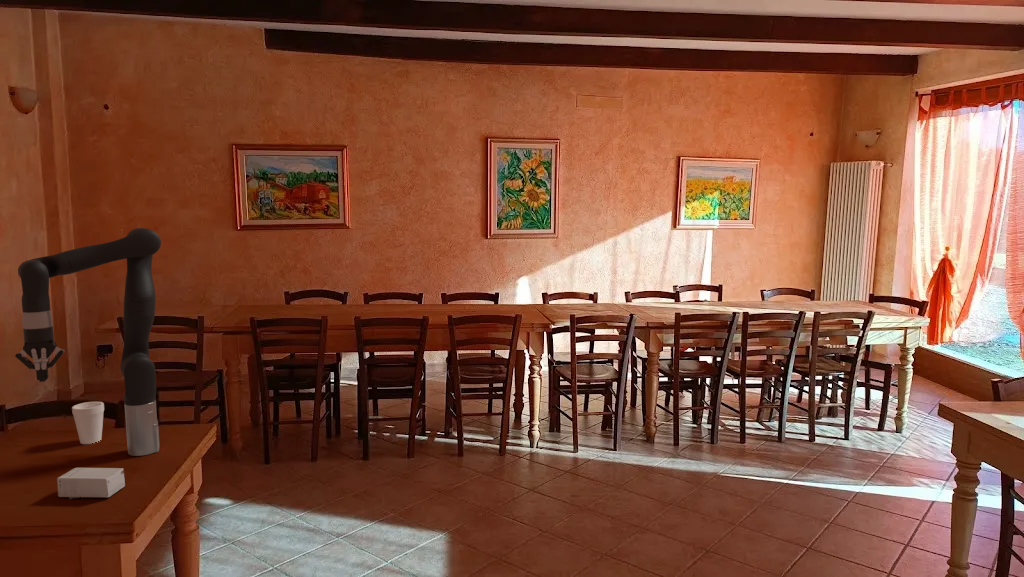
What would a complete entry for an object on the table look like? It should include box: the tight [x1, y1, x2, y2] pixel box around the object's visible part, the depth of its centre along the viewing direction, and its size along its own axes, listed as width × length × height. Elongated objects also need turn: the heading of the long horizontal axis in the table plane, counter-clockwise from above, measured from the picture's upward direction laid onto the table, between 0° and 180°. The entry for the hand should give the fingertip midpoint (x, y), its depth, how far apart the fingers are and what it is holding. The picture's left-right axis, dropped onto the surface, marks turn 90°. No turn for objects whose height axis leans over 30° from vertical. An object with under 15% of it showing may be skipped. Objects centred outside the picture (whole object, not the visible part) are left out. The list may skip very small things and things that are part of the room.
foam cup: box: [71, 401, 105, 445], centre depth 239 cm, size 10×9×13 cm
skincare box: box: [56, 467, 126, 498], centre depth 196 cm, size 8×6×15 cm
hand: (42, 381), depth 209 cm, fingers closed
